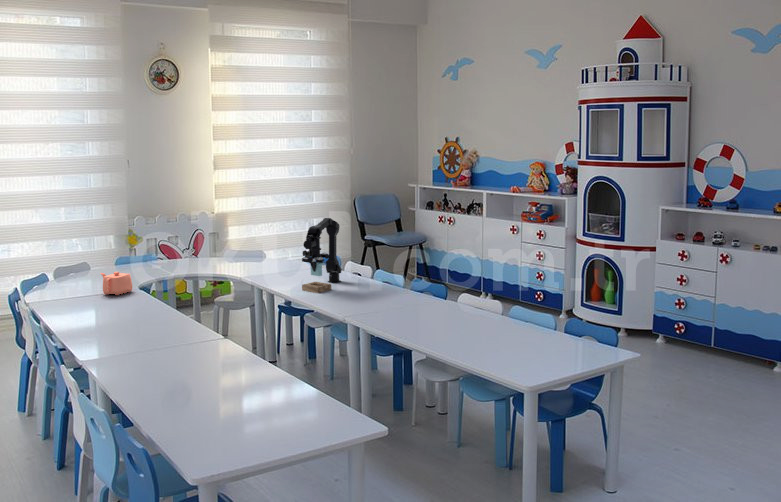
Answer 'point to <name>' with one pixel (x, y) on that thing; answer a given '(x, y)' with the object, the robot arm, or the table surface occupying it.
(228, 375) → the table surface
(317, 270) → the bracket
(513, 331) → the table surface
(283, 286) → the table surface
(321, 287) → the well block
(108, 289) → the teapot
